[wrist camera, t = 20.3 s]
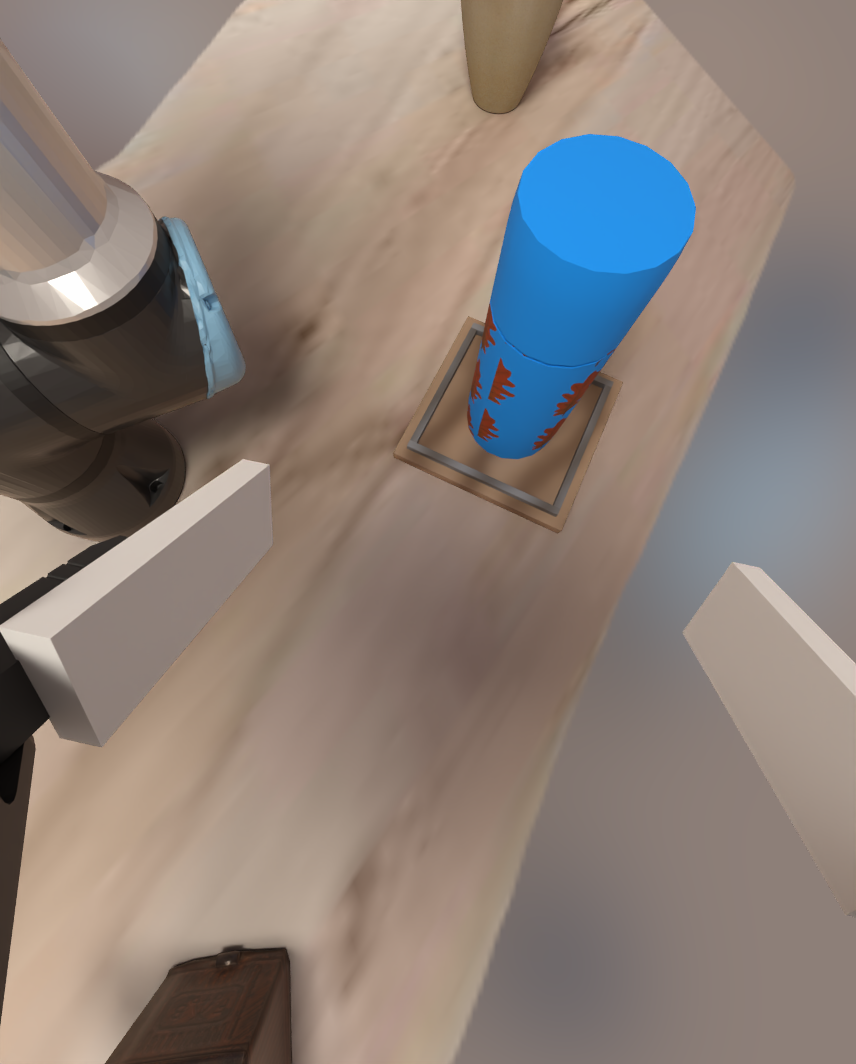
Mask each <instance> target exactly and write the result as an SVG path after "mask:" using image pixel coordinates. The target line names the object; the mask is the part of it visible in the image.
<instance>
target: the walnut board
mask: <svg viewBox="0 0 856 1064" xmlns="http://www.w3.org/2000/svg"><path fill="white" fill-rule="evenodd" d="M484 327H485V323H483V322H481V321H478V320H476V319H474V318H471V317H469V316H468V318H467V319H466V321H465V323H464V325H463V327H462V329H461V330H460V332H459V334H458V336H457V338H456V340H455V341H454V343H453V345H452V347H451V349H450V350H449V352H448V354H447V356H446V358H445V360H444V361H443V363H442V365H441V367H440V369H439V370H438V372H437V374H436V376H435V378H434V380H433V381H432V383H431V385H430V387H429V389H428V391H427V392H426V394H425V396H424V398H423V400H422V401H421V403H420V405H419V407H418V409H417V411H416V412H415V414H414V416H413V418H412V420H411V421H410V423H409V425H408V427H407V429H406V431H405V432H404V434H403V436H402V438H401V440H400V442H399V443H398V445H397V447H396V449H395V451H394V452H393V455H394V458H396V459H399V460H401V461H403V462H405V463H407V464H409V465H411V466H414V467H416V468H418V469H420V470H422V471H424V472H427V473H429V474H431V475H433V476H435V477H437V478H439V479H442V480H444V481H446V482H448V483H450V484H452V485H455V486H457V487H459V488H461V489H463V490H465V491H467V492H470V493H472V494H474V495H476V496H478V497H480V498H483V499H485V500H487V501H489V502H491V503H493V504H496V505H498V506H500V507H502V508H504V509H506V510H508V511H511V512H513V513H515V514H517V515H519V516H521V517H524V518H526V519H528V520H530V521H532V522H534V523H536V524H539V525H541V526H543V527H545V528H547V529H549V530H552V531H554V532H556V533H559V532H560V531H562V528H563V526H564V523H565V521H566V519H567V516H568V514H569V511H570V509H571V507H572V504H573V502H574V499H575V497H576V494H577V492H578V490H579V487H580V485H581V482H582V480H583V478H584V475H585V473H586V470H587V468H588V466H589V463H590V461H591V458H592V456H593V454H594V451H595V449H596V446H597V444H598V442H599V439H600V437H601V434H602V432H603V429H604V427H605V425H606V422H607V420H608V417H609V415H610V413H611V410H612V408H613V405H614V403H615V401H616V398H617V396H618V393H619V391H620V389H621V386H622V384H623V382H622V381H619V380H617V379H615V378H612V377H610V376H608V375H605V374H603V373H601V372H599V373H598V375H597V376H596V377H595V379H594V380H593V382H592V383H591V384H590V386H589V387H588V389H587V390H586V392H585V393H584V394H583V396H582V397H581V399H580V400H579V401H578V403H577V404H576V406H575V407H574V409H573V410H572V411H571V413H570V414H569V416H568V417H567V418H566V420H565V421H564V423H563V424H562V425H561V427H560V428H559V430H558V431H557V433H556V434H555V435H554V436H553V437H552V438H551V440H550V441H549V442H548V443H547V444H546V445H545V446H544V447H543V448H542V449H541V450H539V451H538V452H536V453H535V454H533V455H532V456H528V457H524V458H520V459H507V458H500V457H498V456H496V455H493V454H491V453H488V452H487V451H486V450H484V449H483V448H482V447H481V446H480V445H479V444H478V443H476V441H475V439H474V438H473V436H472V434H471V432H470V430H469V427H468V420H467V410H468V402H469V395H470V391H471V386H472V381H473V377H474V372H475V368H476V363H477V359H478V354H479V350H480V345H481V341H482V336H483V331H484Z"/></svg>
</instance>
